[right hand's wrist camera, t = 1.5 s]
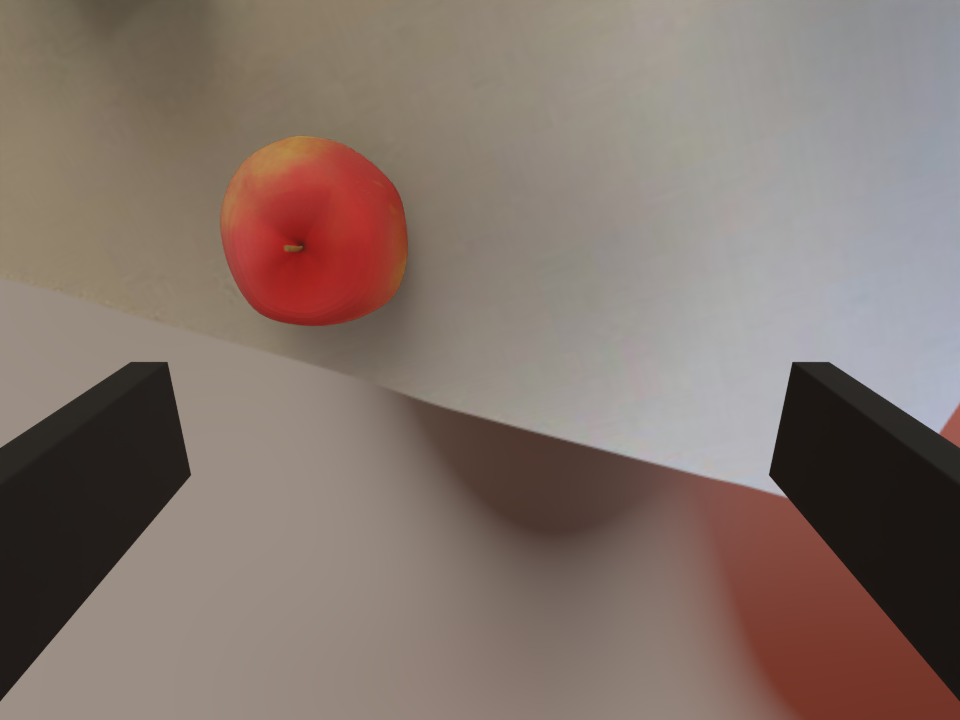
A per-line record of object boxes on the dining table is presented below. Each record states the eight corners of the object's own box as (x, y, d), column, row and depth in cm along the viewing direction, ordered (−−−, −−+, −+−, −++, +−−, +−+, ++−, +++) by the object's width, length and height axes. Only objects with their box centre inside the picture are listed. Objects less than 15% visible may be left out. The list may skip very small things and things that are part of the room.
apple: (441, 177, 35) (430, 191, 25) (390, 319, 38) (362, 379, 29) (284, 111, 33) (210, 101, 24) (244, 265, 37) (165, 309, 27)
